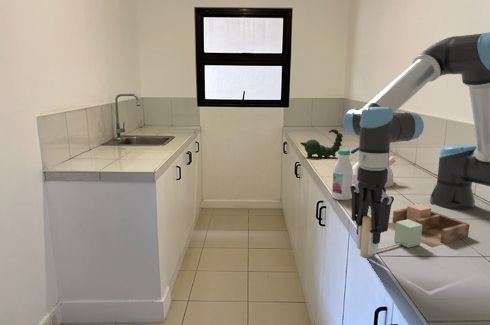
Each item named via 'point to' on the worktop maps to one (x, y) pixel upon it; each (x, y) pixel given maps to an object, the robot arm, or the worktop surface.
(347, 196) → the milk bottle
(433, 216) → the lane shelf
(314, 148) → the toy figurine
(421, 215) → the terracotta block
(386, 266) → the worktop surface
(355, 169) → the kettle
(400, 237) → the green headed mallet
